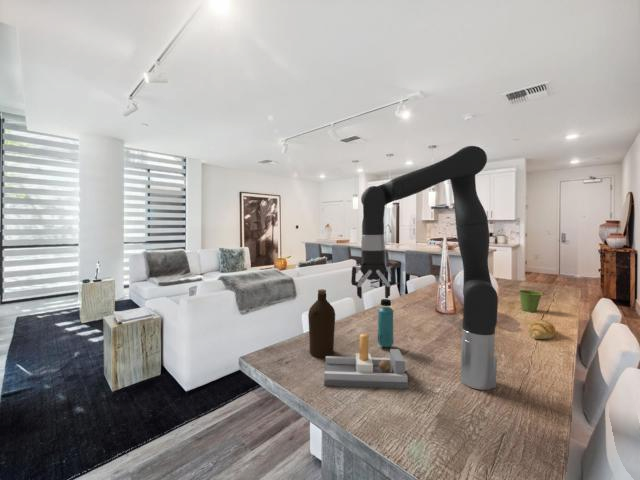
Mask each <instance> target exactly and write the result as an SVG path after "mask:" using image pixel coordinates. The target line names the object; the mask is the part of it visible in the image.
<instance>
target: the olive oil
mask: <svg viewBox="0 0 640 480" xmlns="http://www.w3.org/2000/svg"><path fill="white" fill-rule="evenodd" d="M307 316H308V334H309V335H308V336H309V339H308V340H309V354H310V355H311V356H312V357H315V358H326V356H333V354H334V349H335V348H334V346H335V329H336V328H335V325H336V310H335V309H334V306H333V305H332V304H331V303H330V302H329V301H328V300H327V290H326V289H322V288H321V289H318V290H317V299H316V301H315V302H314V303H313V304H312V305H311V306H310V308H309V310H308V314H307Z"/></svg>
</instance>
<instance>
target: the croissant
mask: <svg viewBox="0 0 640 480" xmlns="http://www.w3.org/2000/svg"><path fill="white" fill-rule="evenodd" d="M528 330H529V333H530V334H531V336H532V338H533V339H535V340H547V339H549V340H550V339H555V338H554V337H555V335H556V327H555V326H554V325H553V324H552V323H551V322H549V321H548V320H543V319H541V320H534V321H531V322H530V323H529V324H528Z"/></svg>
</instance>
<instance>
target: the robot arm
mask: <svg viewBox="0 0 640 480" xmlns="http://www.w3.org/2000/svg"><path fill="white" fill-rule="evenodd" d="M487 162H488V155H487V153H486V151H485V150H484V149H483V148H481V147H479V146H476V145H467V146H465V147H463V148H460V149H459V150H458V151H456V152H454V154H452V155H450V156H448V157H446V158H444V159H442V160H439V161H438V162H435V163H433V164H430V165H428V166H425V167H424V166H423V167H421V168H419V169H416V170H414V171H413V170H412V171H411V172H408V173H405V174H402V175H400V176H397V177H394V178H392V179H391V180H389V181H388V182H384V183H383V184H379V185H371V186H369V187H367V188H366V189H364V191H363V192H362V194H361V197H360V200H361V203H362V204H361V205H362V211H363V216H362V217H363V218H362V222H361V223H362V224H361V234H362V235H361V265H360V266H354V265H353V266H352V267H351V281H350V282H351V285H352V286H355V287H356V295H357V297H358V298H359V299H362V297H363V296H362V295H363V292H362V291H363V290H362V285H363V284H364V283H366V281H367V280H368V281H372V280H375V281H379V280H380V279H381V281H382V282H383V283H384V297H385V298H384V299H389V297H390V296H391V287H392V286H396V284H397V278H396V267H395V266H393V265H390V266H387V265H386V256H385V255H386V245H385V244H386V243H385V235H384V234H385V221H384V217H385V210H386V205H388V204H390V203H393V202H395V201H398V200H399V201H400V200H402V199H405V198H408V197H410V196H413V195H415V194H417V193H420V192H424V191H425V190H428V189H429V188H432V187H434V186H436V185H438V184H440V183H443V182H445V181H448V180H449V181H450V184H451V189H452V195H453V207H454V217H455V229H456V237H457V239H456V240H457V244H458V249H459V252H460V257H461V260H462V269H463V283H462V284H463V286H462V287H463V288H462V295H463V311H462V312H463V313H462V314H463V317H462V325H461V326H462V328H461V332H462V333H461V361H460V363H461V364H460V381H461V383H463V385H465V386H467V387H469V388H473V389H475V390H479V391H480V390H481V391H488V390H489V391H490V390H491V389H496V388H497V375H498V374H497V372H498V371H497V369H498V357H497V356H495V346H496V345H495V341H496V326H497V323H498V307H499V306H498V305H499V297H498V296H499V295H498V293H497V291H496V289H495V288H494V286H493V284H492V280H491V275H490V271H489V251H490V229H489V219H488V215H487V213H486V211H485V208H484V206H483V204H482V202H481V200H480V198H479V195H478V193H477V186H476V185H477V182H476V175H478V174H480V172H482V170H484V168H485V167H486V166H487V165H486V164H487ZM359 271H360V272H361V273H362V276H361V277H360V279H359V280H358V281H356V280H357V279H356V278H357V277H356V276H357V274H358V273H359ZM386 272H388V273H389V274H390V280H389V281H388V279H387V278H386V277H385V275H384V274H385V273H386Z"/></svg>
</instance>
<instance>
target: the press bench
mask: <svg viewBox="0 0 640 480" xmlns="http://www.w3.org/2000/svg"><path fill="white" fill-rule="evenodd" d="M371 359H372V363H373V373H366V372H356V364H355V362H356V356H341V355H340V356H339V355H337V356H335V355H331V356H326V357H325V364H324V365H325V367H324V371H323V373H324V374H323V377H324V378H323V382H324V383H323V386H328V387H329V386H330V387H331V386H333V387H354V388H355V387H356V388H358V387H359V388H360V387H361V388H381V389H382V388H383V389H384V388H385V389H408V388H409V383H408V377H409V376H408V374H407V373H405V372H406V371H405V370H406V367H405V366H406V361H405V358H404V356H403V355H402V353H401V351H400V349H398V348H397V349H395V348H390V351H389V357H372V356H371ZM382 360H387V361H389V362H390V364H391V369H390V371H389V372H387V373H384V372H382V371H381V370H380V369H379V363H380V361H382Z"/></svg>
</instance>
